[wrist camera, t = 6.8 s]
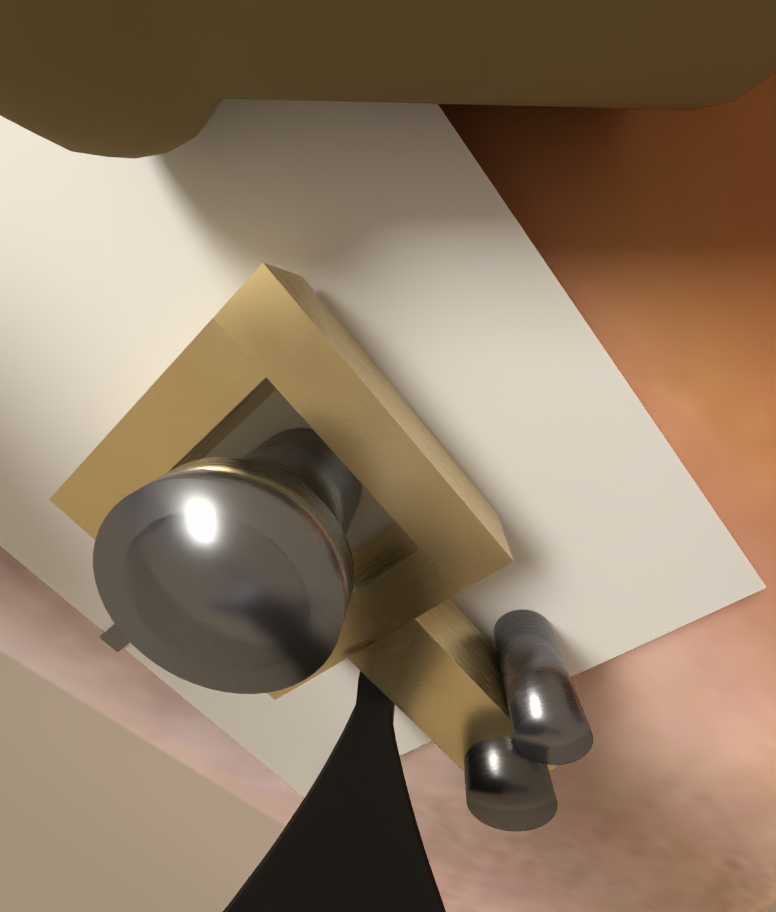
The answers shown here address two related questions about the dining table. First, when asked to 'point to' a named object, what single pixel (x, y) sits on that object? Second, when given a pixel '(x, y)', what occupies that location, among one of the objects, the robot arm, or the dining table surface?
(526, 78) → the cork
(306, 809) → the robot arm
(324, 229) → the board
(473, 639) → the collar
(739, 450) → the dining table surface
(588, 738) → the dark metal domed fitting
